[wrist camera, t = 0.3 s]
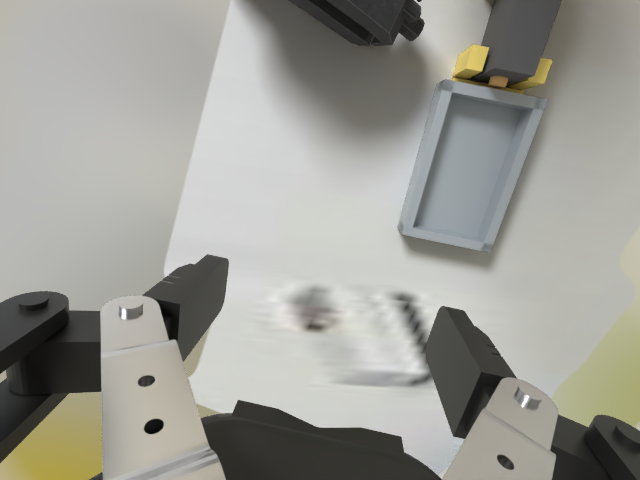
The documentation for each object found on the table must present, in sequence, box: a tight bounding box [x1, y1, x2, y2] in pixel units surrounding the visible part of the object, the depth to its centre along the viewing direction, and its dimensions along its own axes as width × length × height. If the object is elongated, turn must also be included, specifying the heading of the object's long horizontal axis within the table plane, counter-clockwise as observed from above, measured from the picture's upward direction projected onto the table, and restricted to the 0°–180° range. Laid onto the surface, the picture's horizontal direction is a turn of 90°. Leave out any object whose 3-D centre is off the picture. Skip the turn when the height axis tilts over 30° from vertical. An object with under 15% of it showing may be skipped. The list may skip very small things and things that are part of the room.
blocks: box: [452, 44, 553, 94], centre depth 31 cm, size 14×7×4 cm, turn 169°
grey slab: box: [471, 0, 561, 88], centre depth 30 cm, size 11×4×6 cm, turn 169°
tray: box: [398, 79, 548, 253], centre depth 35 cm, size 16×10×3 cm, turn 169°
